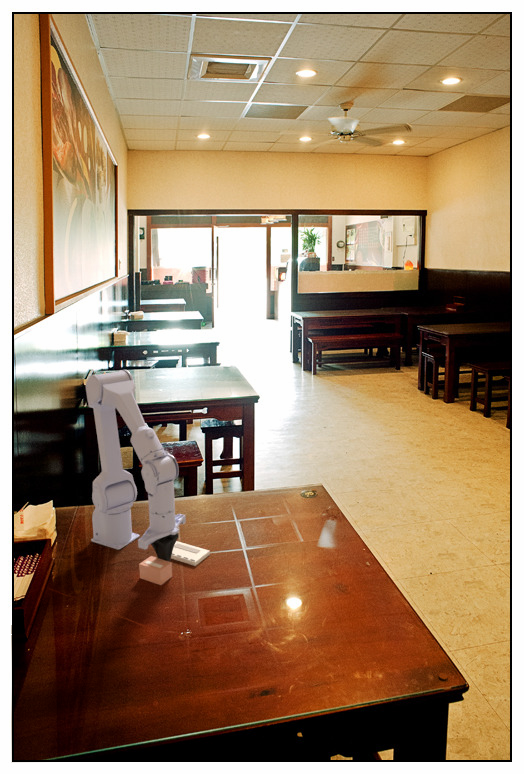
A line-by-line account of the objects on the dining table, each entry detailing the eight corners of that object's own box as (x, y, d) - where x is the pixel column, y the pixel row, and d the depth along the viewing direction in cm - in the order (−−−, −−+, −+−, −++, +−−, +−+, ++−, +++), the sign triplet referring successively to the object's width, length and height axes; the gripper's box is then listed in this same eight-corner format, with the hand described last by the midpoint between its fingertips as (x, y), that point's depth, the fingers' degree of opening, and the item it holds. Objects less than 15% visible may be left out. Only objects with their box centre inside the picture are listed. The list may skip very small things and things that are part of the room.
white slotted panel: (161, 555, 135) (161, 551, 135) (176, 544, 140) (176, 540, 140) (195, 566, 130) (195, 561, 130) (209, 554, 136) (209, 550, 135)
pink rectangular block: (140, 578, 126) (139, 563, 125) (151, 569, 129) (150, 555, 128) (161, 585, 123) (160, 570, 122) (172, 576, 126) (171, 562, 125)
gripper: (154, 525, 117) (158, 584, 120) (195, 500, 129) (197, 553, 132) (129, 518, 120) (132, 575, 123) (171, 494, 133) (173, 546, 136)
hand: (164, 563), depth 128 cm, fingers closed
